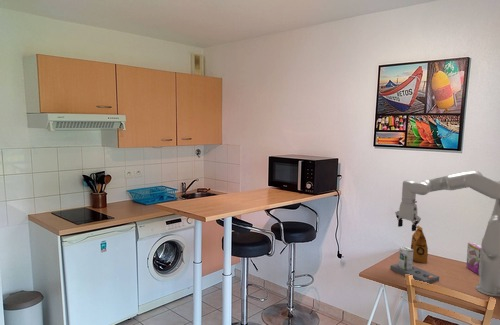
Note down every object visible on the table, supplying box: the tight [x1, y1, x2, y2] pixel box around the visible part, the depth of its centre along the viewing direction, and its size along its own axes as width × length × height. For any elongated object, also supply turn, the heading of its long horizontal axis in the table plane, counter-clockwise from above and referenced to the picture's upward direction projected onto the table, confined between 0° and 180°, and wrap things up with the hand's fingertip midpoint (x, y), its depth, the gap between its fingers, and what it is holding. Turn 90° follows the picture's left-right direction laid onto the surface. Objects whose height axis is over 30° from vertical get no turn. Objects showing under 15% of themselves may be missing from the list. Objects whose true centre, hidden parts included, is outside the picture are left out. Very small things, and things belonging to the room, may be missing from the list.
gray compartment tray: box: [390, 262, 440, 284], centre depth 202 cm, size 24×12×3 cm, turn 26°
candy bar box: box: [466, 242, 482, 276], centre depth 207 cm, size 11×5×16 cm, turn 1°
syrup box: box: [398, 246, 414, 270], centre depth 207 cm, size 6×6×14 cm
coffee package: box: [410, 225, 429, 264], centre depth 225 cm, size 10×12×22 cm
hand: (406, 228), depth 205 cm, fingers open, 9 cm apart
